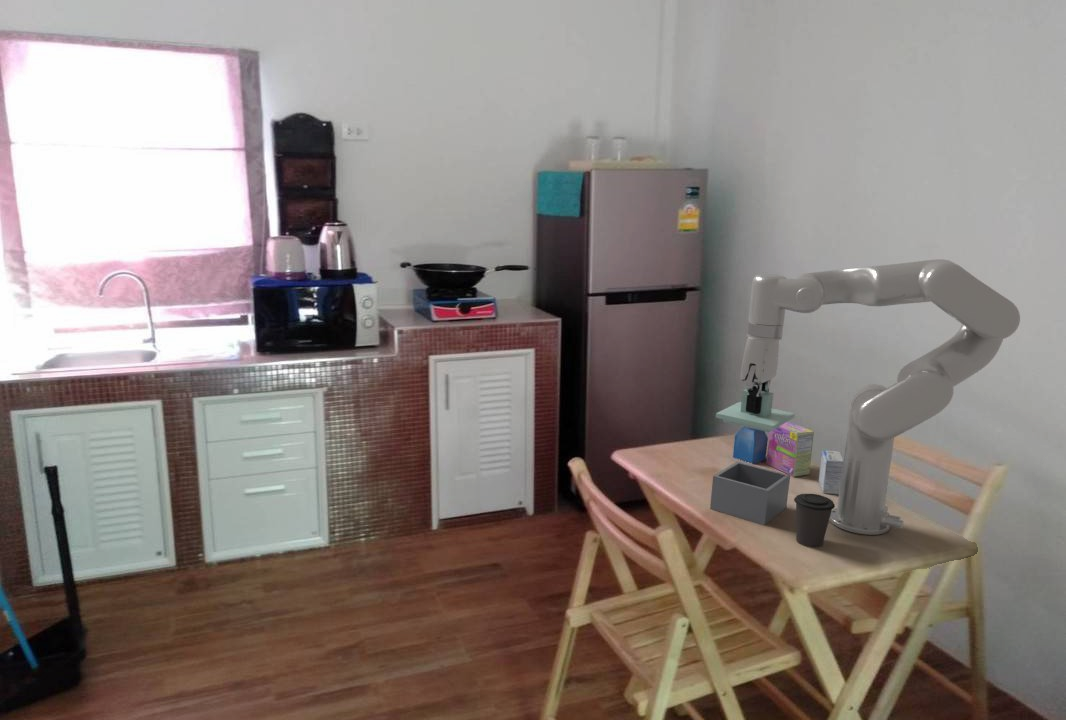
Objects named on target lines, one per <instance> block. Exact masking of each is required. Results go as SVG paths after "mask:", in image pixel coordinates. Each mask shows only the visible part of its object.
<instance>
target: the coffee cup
mask: <svg viewBox="0 0 1066 720" xmlns="http://www.w3.org/2000/svg"><path fill="white" fill-rule="evenodd" d="M793 502H794V503H795V515H796V516H795V527H796V528H795V529H796V530H795V531H796V533H795V535H796V536H795V537H796V538H795V540H796V542H797V543H798V544H800V545H801V546H804V547H807V548H820V547H822V546H823V544H824V541H825V537H826V533H827V529H828V526H829V521H830V520H829V519H830V515H831V511H832V510H833V509H835V507H836V506H835V502H834V501H833V500H832V499H831V498H829V497H827V496H824V495H820V494H817V493H816V494H815V493H802V494H801V493H799V494H797V495H796V496H795V497H794V499H793Z"/></svg>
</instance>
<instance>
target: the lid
mask: <svg viewBox="0 0 1066 720" xmlns="http://www.w3.org/2000/svg"><path fill="white" fill-rule="evenodd" d="M760 396H761V397H762V401H761V410H760V413H759V414H755V413H750V412H746V402H747V388H745V389H742V394H741V401H739V402H736V403H734V404H732V405H730V406H728V407H725V408H724V409H722V410H720V411H718V412H716V413H715V418H716V419H721V420H722V422H723V423H726V424H727V423H728V424H731V425H736V426H740V427H748V428H752V429H757V430H761V431H764V432H765V433H766V432H767V433H769V432H770V431H772V430H774V429H776V428H778V427H779V426H781V425H783V424H784V423H786V422H790V421H791V420H793V419H794V418H795V414H796V413H795V412H790V411H784V410H781V409H776V408H773V401H774V393H773V392H770V391H769V392H765V391H761V395H760Z"/></svg>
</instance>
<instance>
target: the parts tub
mask: <svg viewBox="0 0 1066 720" xmlns="http://www.w3.org/2000/svg"><path fill="white" fill-rule="evenodd" d="M790 480H791V475H788V474H786V473H784V472H781V471H780V472H779V471H776V470H772V469H771V470H770V469H768V468H763V467H759V466H756V465H753V464H750V463H746V462H740V461H736V462H734V463H732V464H730V465H729V466H727V467H726V468H724V469H722V470H720V471H719V472H717V473H716V474H714V475H713V476H712V485H711V493H710V494H711V496H710V507H709V509H710V510H712V511H713V510H714V511H716V512H720V513H723V514H725V515H730V516H733V517H737V518H739V519H743V520H747V521H750V522H753V523H756V524H759V525H763V526H765V525H766V524H768V523H769V522H771V521H772V520H773V519H774V518H775V517H777V516H778V515H779V514H780V513H782V512H783V511H784V510H786V509H787V505H788V497H789V488H790Z"/></svg>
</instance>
